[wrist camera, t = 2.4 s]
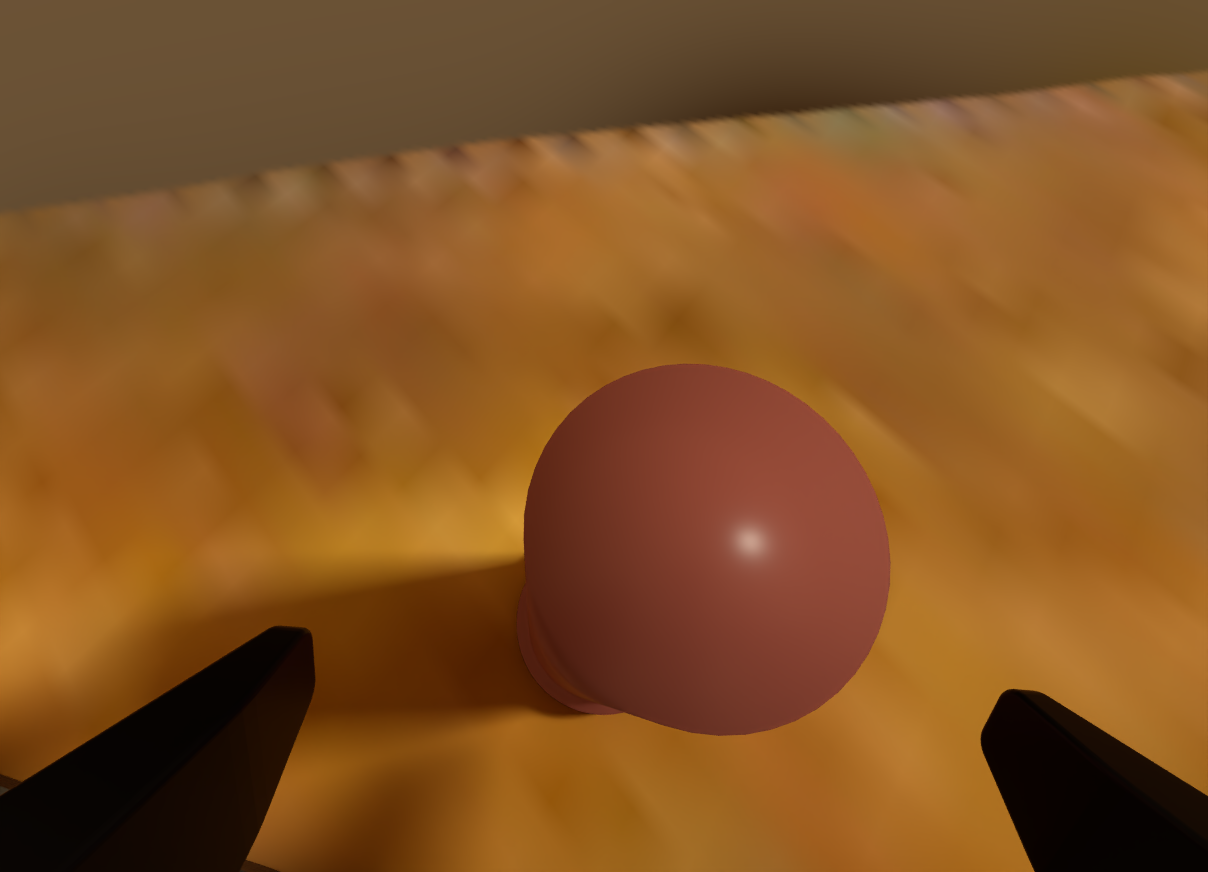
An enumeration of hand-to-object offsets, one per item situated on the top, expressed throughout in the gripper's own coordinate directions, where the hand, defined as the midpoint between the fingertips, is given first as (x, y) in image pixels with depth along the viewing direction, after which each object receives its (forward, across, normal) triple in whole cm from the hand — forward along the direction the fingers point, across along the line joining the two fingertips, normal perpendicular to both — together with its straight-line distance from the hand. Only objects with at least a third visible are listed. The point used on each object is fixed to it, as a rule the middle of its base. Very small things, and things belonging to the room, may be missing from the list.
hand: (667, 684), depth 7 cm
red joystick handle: (+7, 0, +5) cm, 9 cm away
